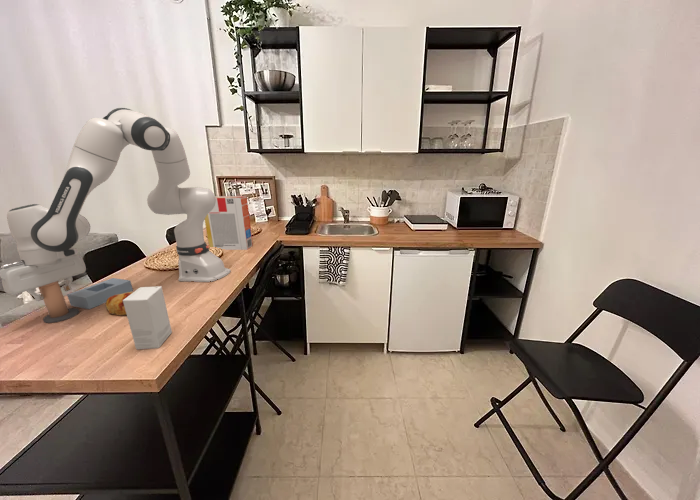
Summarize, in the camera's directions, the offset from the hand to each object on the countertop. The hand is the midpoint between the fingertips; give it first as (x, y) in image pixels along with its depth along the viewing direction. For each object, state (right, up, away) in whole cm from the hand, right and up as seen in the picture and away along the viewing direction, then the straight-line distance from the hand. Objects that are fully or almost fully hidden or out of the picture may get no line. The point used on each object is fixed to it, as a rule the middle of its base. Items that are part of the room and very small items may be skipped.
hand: (54, 295), depth 99 cm
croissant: (+20, -6, +6) cm, 22 cm away
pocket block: (+4, -3, +15) cm, 16 cm away
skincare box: (+42, -12, -13) cm, 46 cm away
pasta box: (+28, +16, +77) cm, 84 cm away
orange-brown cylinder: (-1, -7, +2) cm, 7 cm away
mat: (0, -8, +2) cm, 8 cm away
